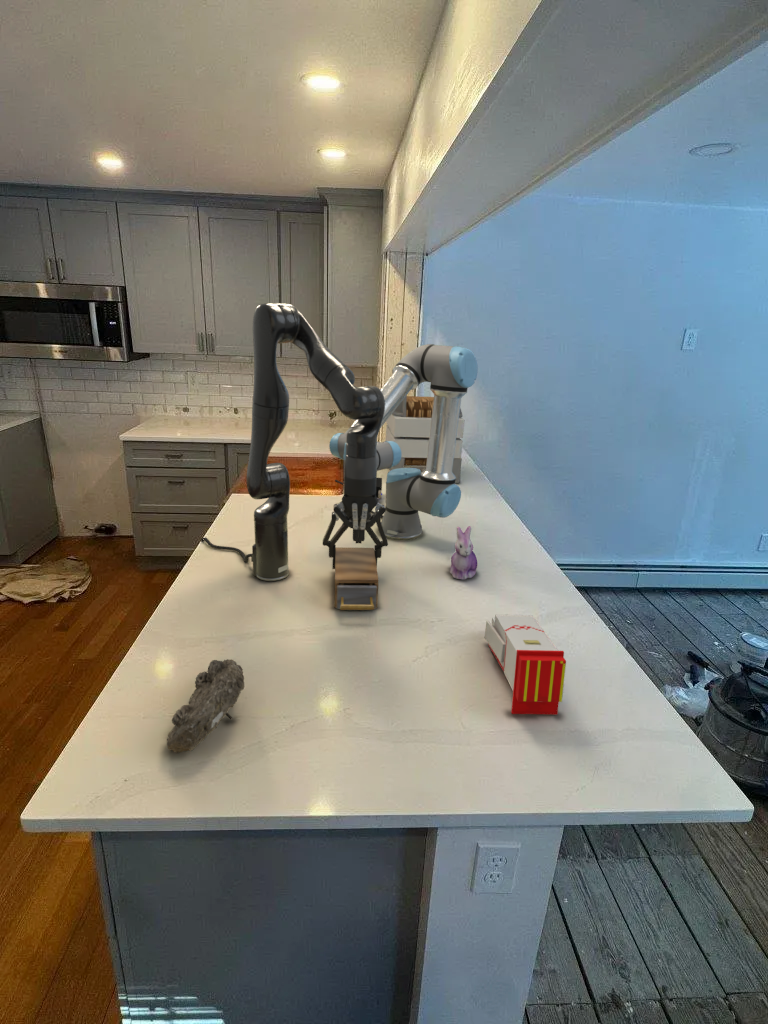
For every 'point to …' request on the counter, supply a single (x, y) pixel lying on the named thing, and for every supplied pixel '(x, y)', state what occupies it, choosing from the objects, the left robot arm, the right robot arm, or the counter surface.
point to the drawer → (356, 596)
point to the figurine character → (378, 488)
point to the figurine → (463, 556)
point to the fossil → (206, 705)
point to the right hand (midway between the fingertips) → (354, 567)
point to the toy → (527, 663)
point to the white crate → (418, 433)
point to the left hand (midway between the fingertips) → (358, 542)
